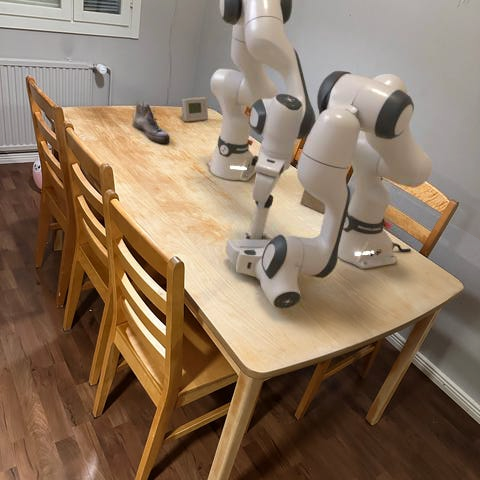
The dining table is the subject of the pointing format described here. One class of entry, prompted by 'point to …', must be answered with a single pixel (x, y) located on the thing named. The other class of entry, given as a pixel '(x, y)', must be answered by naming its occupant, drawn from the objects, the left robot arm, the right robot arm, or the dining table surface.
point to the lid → (268, 202)
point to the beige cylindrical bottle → (258, 222)
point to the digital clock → (194, 109)
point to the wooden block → (312, 202)
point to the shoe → (149, 124)
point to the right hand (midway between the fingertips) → (253, 235)
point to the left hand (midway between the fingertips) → (263, 202)
